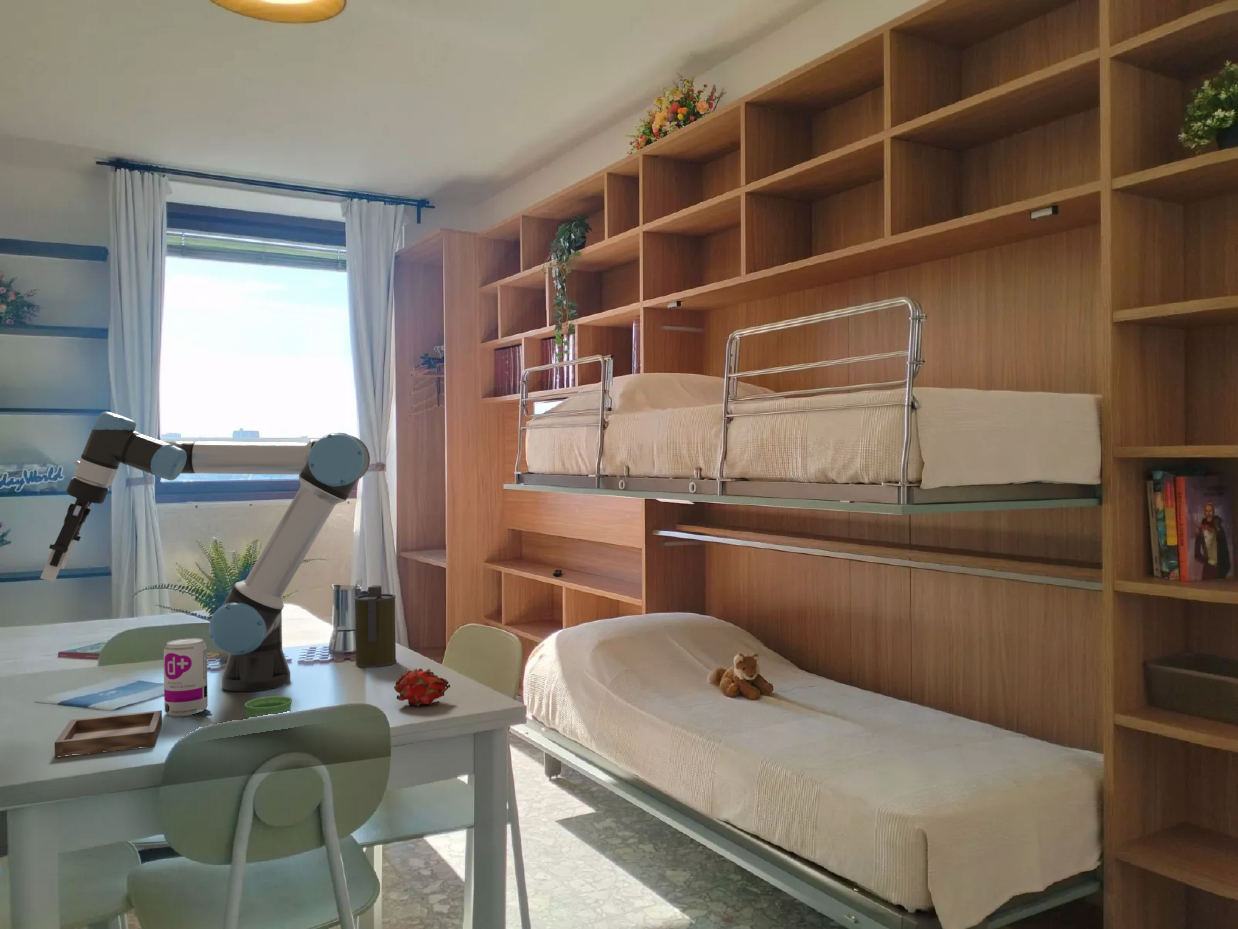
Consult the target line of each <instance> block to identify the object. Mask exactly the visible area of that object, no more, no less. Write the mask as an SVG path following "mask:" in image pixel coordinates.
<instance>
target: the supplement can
mask: <svg viewBox="0 0 1238 929" xmlns="http://www.w3.org/2000/svg"><path fill="white" fill-rule="evenodd" d="M207 647H208V646H207V645H206V643H205V641H204V639H203V638H197V637H192V638H191V637H190V638H187V637H186V638H179V639H174V640H170V641H167V642H166V645H165V647H164V649H163V688H164V690H163V691H164V692H163V694H164V696H163V698H164V712H165V714H167V715H168V716H170V717H180V718H181V717H189V716H190V715H191V716H193V715H192V714H193V713H195V712H196V711H197V710H200V709H205V710H206V709H207V708H208V700H209V699H208V652H207V651H208V650H207V649H208V648H207Z"/></svg>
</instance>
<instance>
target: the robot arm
mask: <svg viewBox="0 0 1238 929" xmlns="http://www.w3.org/2000/svg"><path fill="white" fill-rule="evenodd" d="M136 427H137V422H136V421H135V420H133V419H130V418H128V417H126V416H123V415H121V414H117V413H113V412H110V411H103V412H101V413H100V414H98V417H97V419H96V421H95V423H94V425H93V427H92V428H91V431H90V434H89V436H88V439H87V441H86V444H85V446H84V450H83V451H82V454H81V455H80V458H79V460H75V462H74V465H76V468H75V469H74V472H73V474H74V476H73V477H71V479H70V481H69V483H68V485H67V488H66V490H65V491H66V494H67V495H69V496H70V497H72V498H75V499H76V500H75V502H71V503H70V504H69V505H68V508H67V511H66V512H67V513H66V515H65V517H64V520H63V526H61V529H60V532H59V534H58V536H57V537H56V540H55V543H53V544H50V545H49V549H51V552H50V554H49V556H48V559H47V561H46V564H45V566H44V568H43V571H42V573H41V575H40V577H39V579H41V580H45V581H49V582H52V583H55V582H56V579H57V577H58V575H59V572H60V570H61V569H62V570H65V567H66V565H67V562H68V559H69V558H70V556H71V553H72V550H73V548H74V546H75V544H76V542H80V540H81V536H79V535H80V532H81V528H82V526H83V524H84V523H85V522H86V520H87V518H88V516H89V515H90V513H91V510H92V508H90V506H91V504H92V503H93V504H98V505H100V504H101V505H102V504H103V503H104V502H105V501H106V500H105V499H106V497H107V495H108V493H109V490H110V488H109V486H111V485H112V484H113V482H114V479H115V477H116V475H117V471H118V470H119V466H120V464H122V465H124V466H125V465H126V466H128V467H132V468H135V469H137V470H140V471H142V472H144V473H147V474H150V475H153V476H154V477H156V478H161V479H164V480H168V481H174V480H176V479H177V478H178V477H180V475H181V474H206V475H207V474H209V475H211V474H212V475H213V474H214V475H216V474H217V475H218V474H219V475H220V474H223V475H227V474H228V475H233V474H234V475H292V476H295V475H298V479H299V483H300V487H299V488H298V491H297V492H296V494H295V496H294V497H293V498H292V500H291V502H290V504H289V506H288V507H287V508H286V511H285V512H284V513H283V516H282V517H281V520H280V521H279V523H278V524H277V526H276V528H275V530H274V531H273V533H272V534H271V536H270V538H269V540H268V541H267V543H266V545H265V546H264V548H263V549H262V551H261V553H260V555H259V557H258V558H257V560H256V561H255V563H254V565H253V566H252V568H251V570H250V572H249V574H248V575H247V577H246V579H243V580H241V581H238V582H235V584H234V585H233V587H232V588H231V589H230V590H229V592H228V595H227V597H226V598H225V600H224V602H223V603H222V605H221V606H220V607H218V608H217V610H215V611H214V612H213V614H212V616H211V619H210V621H209V624H208V625H209V626H208V631H209V637H210V640H211V641H212V643H213V644H214V645H215V647H216V648H218V650H220V651H221V652H223V653H226V654H228V655H229V656H228V658H227V661H226V663H225V664H226V665H225V668H224V670H223V674H222V677H221V689H223V690H225V691H229V692H256V691H257V692H258V691H265V690H271V689H276V688H279V687H283V686H285V685H287V683H288V684H289V683H290V682H291V670H290V666H289V665H288V661H287V658H286V656H285V652H284V651H283V628H282V627H283V626H282V625H283V623H282V622H283V621H282V620H283V616H282V610H283V609H284V607H285V605H284V601H283V595H284V593H285V592H286V590H287V588H288V586H289V585H290V583H291V581H292V580H293V578H294V576H295V575H296V573H297V571H298V570H299V568H300V567H301V566H302V565H301V564H302V563H303V561H304V559H305V557H306V556H307V554H308V552H309V551H310V549H311V547H312V546H313V544H314V542H315V540H316V538H318V536H319V534H320V532H321V531H322V528H323V527H324V525H325V524H326V522H327V520H328V518H329V517H330V515H331V513H332V511H333V510H334V508H335V506H336V505H337V504H341V503H344V502H346V501H347V499H348V497H349V496H350V494H351V492H352V491H353V489H354V488H355V486H356V484H357V483H358V481H359V480H360V479H362V478H363V477H364V476H365V475H366V473H367V471H368V470H369V467H370V462H371V456H370V452H369V450H368V447H367V446H366V444H365V442H363V441H362V440H361V439H359V438H358V437H356V436H353V435H350V434H347V433H345V432H331V433H329V434H326V435H324V436H321V438H312V439H310V440H309V441H308V442H261V441H260V442H257V441H254V442H253V441H250V442H248V441H246V442H245V441H190V440H189V441H184V440H183V441H181V440H162V439H161V440H160V439H158V438H154V437H151V436H148V435H145V434H142V433H140V432H138V430H137V431H136Z"/></svg>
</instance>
